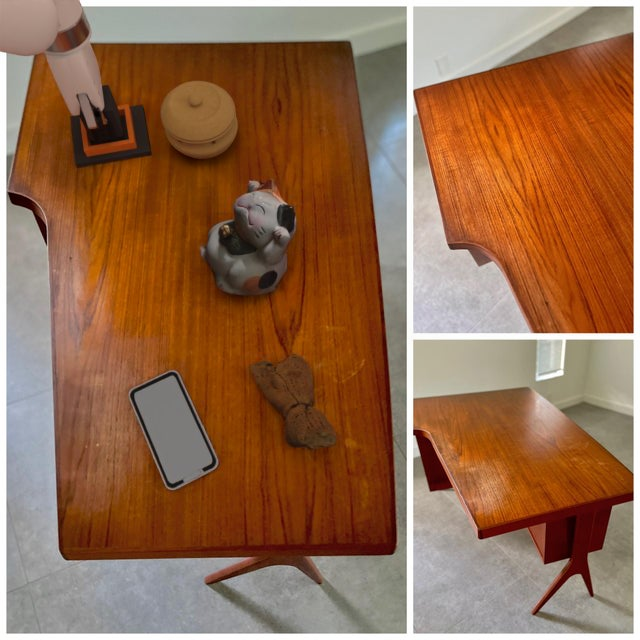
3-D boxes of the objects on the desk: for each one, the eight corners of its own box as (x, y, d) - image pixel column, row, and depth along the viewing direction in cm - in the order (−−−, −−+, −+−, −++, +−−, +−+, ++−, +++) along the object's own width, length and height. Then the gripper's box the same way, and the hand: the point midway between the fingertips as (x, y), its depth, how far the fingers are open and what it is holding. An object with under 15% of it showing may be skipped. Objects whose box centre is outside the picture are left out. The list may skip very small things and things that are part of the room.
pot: (237, 171, 87) (230, 128, 78) (165, 168, 87) (149, 125, 78) (242, 114, 92) (236, 68, 82) (174, 111, 91) (160, 64, 82)
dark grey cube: (91, 141, 85) (78, 115, 80) (88, 116, 87) (75, 88, 81) (123, 136, 86) (112, 110, 80) (119, 111, 88) (108, 84, 82)
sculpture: (291, 453, 60) (263, 333, 66) (269, 471, 69) (246, 364, 75) (355, 440, 64) (323, 327, 69) (326, 459, 72) (300, 357, 78)
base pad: (77, 168, 86) (71, 158, 84) (72, 120, 90) (66, 109, 88) (151, 155, 88) (148, 144, 86) (143, 108, 91) (139, 97, 89)
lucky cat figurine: (193, 234, 83) (211, 156, 73) (265, 238, 88) (290, 166, 79) (213, 304, 74) (236, 225, 65) (292, 304, 80) (323, 231, 70)
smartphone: (176, 367, 74) (221, 465, 69) (177, 369, 75) (221, 466, 70) (125, 391, 73) (167, 493, 68) (127, 393, 73) (169, 493, 69)
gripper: (24, -16, 71) (76, 88, 88) (31, 78, 66) (85, 171, 82) (81, -24, 72) (121, 81, 89) (94, 69, 67) (134, 162, 83)
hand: (104, 123), depth 86 cm, fingers closed on dark grey cube, 5 cm apart
